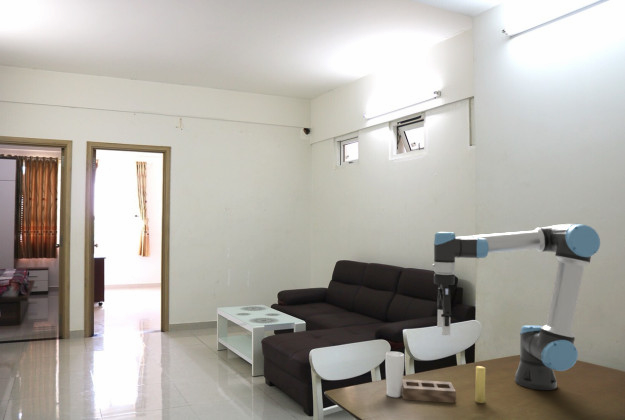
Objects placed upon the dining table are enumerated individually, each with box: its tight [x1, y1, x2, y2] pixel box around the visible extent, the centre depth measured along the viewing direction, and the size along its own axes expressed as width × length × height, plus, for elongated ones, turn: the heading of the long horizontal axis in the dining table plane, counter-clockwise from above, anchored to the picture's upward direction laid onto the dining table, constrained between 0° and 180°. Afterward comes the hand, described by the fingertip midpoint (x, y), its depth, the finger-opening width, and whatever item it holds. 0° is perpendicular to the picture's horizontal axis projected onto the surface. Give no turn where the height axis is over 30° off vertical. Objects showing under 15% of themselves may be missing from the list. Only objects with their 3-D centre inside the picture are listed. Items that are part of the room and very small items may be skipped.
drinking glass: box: [384, 351, 405, 398], centre depth 177 cm, size 7×7×15 cm
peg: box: [474, 365, 486, 404], centre depth 174 cm, size 3×3×12 cm
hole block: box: [401, 378, 457, 404], centre depth 177 cm, size 18×10×4 cm, turn 84°
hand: (443, 330), depth 181 cm, fingers open, 13 cm apart
